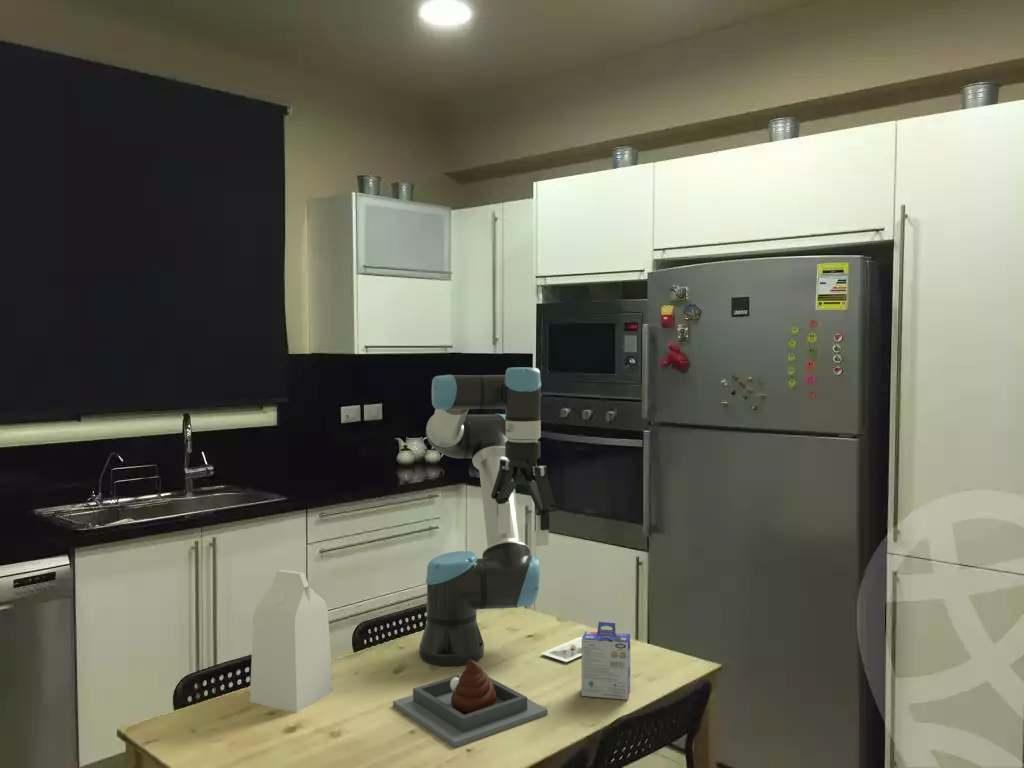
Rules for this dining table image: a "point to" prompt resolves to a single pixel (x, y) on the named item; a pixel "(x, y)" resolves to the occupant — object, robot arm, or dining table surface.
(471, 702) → the poop emoji
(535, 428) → the robot arm
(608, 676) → the ink cartridge box
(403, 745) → the dining table surface
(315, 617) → the milk
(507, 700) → the pocket plate
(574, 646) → the touchpad
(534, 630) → the dining table surface
